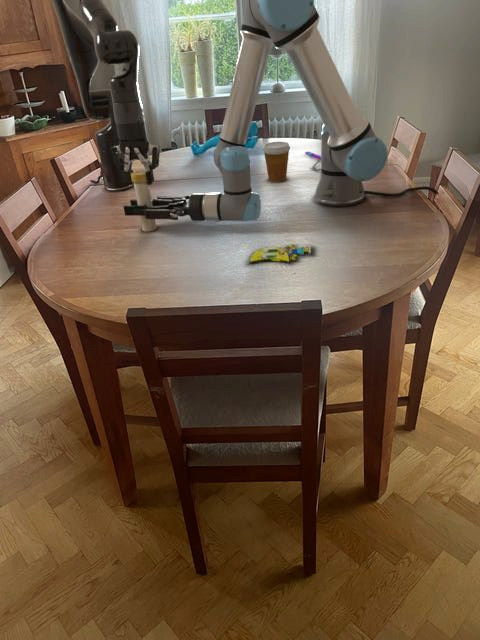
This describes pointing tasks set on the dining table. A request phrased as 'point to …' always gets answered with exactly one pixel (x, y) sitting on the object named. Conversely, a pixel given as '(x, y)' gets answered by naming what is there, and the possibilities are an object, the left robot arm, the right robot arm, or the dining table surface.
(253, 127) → the toy
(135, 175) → the lid
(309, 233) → the dining table surface
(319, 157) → the checkered curved strip
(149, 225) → the white bottle
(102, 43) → the left robot arm
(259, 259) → the toy
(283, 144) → the disposable coffee cup
